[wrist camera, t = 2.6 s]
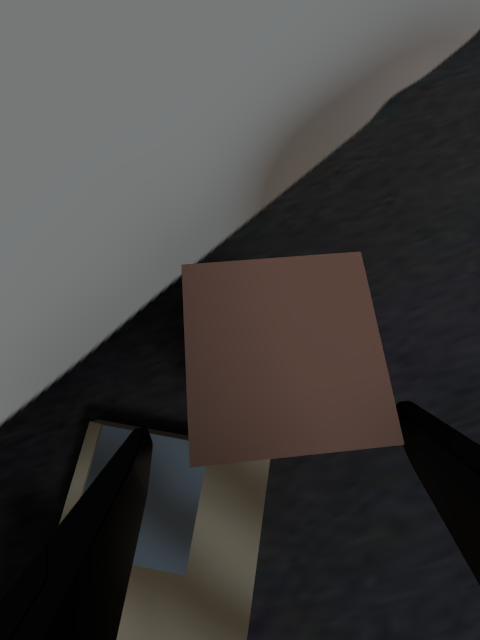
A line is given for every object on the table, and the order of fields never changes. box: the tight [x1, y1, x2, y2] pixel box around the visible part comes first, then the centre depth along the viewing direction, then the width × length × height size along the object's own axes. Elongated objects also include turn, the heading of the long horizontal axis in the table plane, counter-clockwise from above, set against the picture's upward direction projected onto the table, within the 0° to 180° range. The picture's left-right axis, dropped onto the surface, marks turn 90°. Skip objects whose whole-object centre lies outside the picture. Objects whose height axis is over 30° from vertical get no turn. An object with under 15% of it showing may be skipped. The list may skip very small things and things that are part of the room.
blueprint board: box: [59, 420, 270, 640], centre depth 15 cm, size 16×12×1 cm
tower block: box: [182, 252, 404, 468], centre depth 13 cm, size 5×5×13 cm
